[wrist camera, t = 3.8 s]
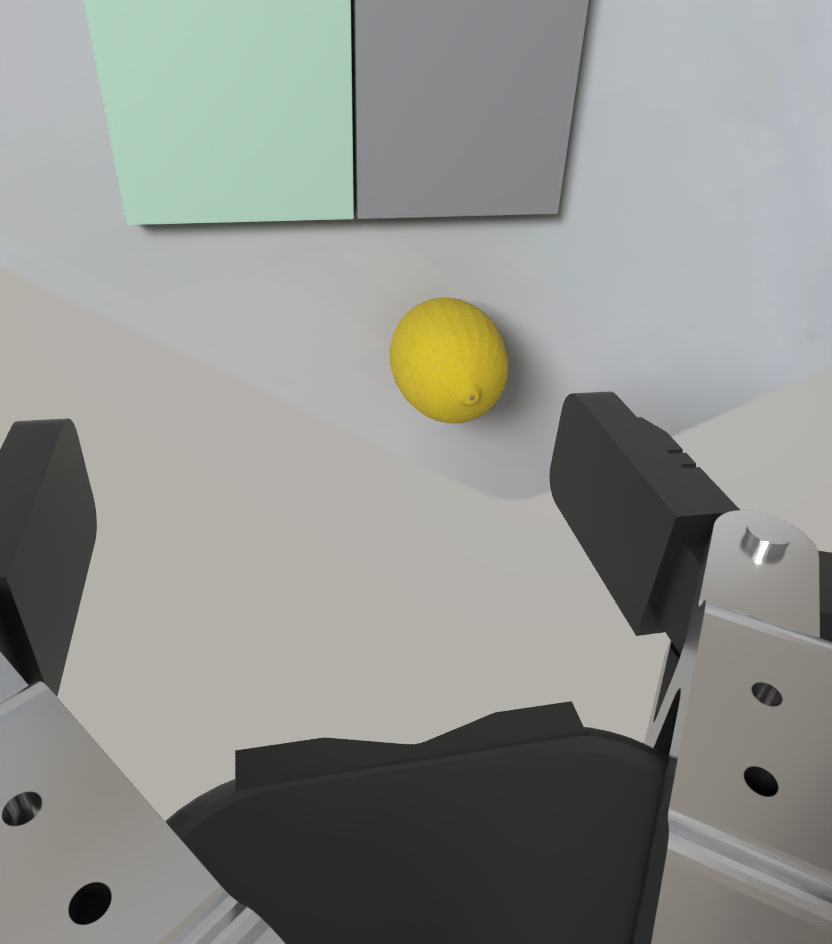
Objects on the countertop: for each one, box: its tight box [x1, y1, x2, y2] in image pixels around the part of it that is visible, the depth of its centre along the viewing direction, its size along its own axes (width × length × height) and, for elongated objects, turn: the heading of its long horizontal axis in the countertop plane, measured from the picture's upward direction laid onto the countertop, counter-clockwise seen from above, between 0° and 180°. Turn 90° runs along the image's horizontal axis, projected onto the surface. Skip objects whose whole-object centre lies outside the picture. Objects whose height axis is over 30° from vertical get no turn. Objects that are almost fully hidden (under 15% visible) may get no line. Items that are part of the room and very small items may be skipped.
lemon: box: [390, 298, 508, 423], centre depth 34 cm, size 6×6×8 cm
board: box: [83, 0, 589, 225], centre depth 30 cm, size 20×10×1 cm, turn 88°
